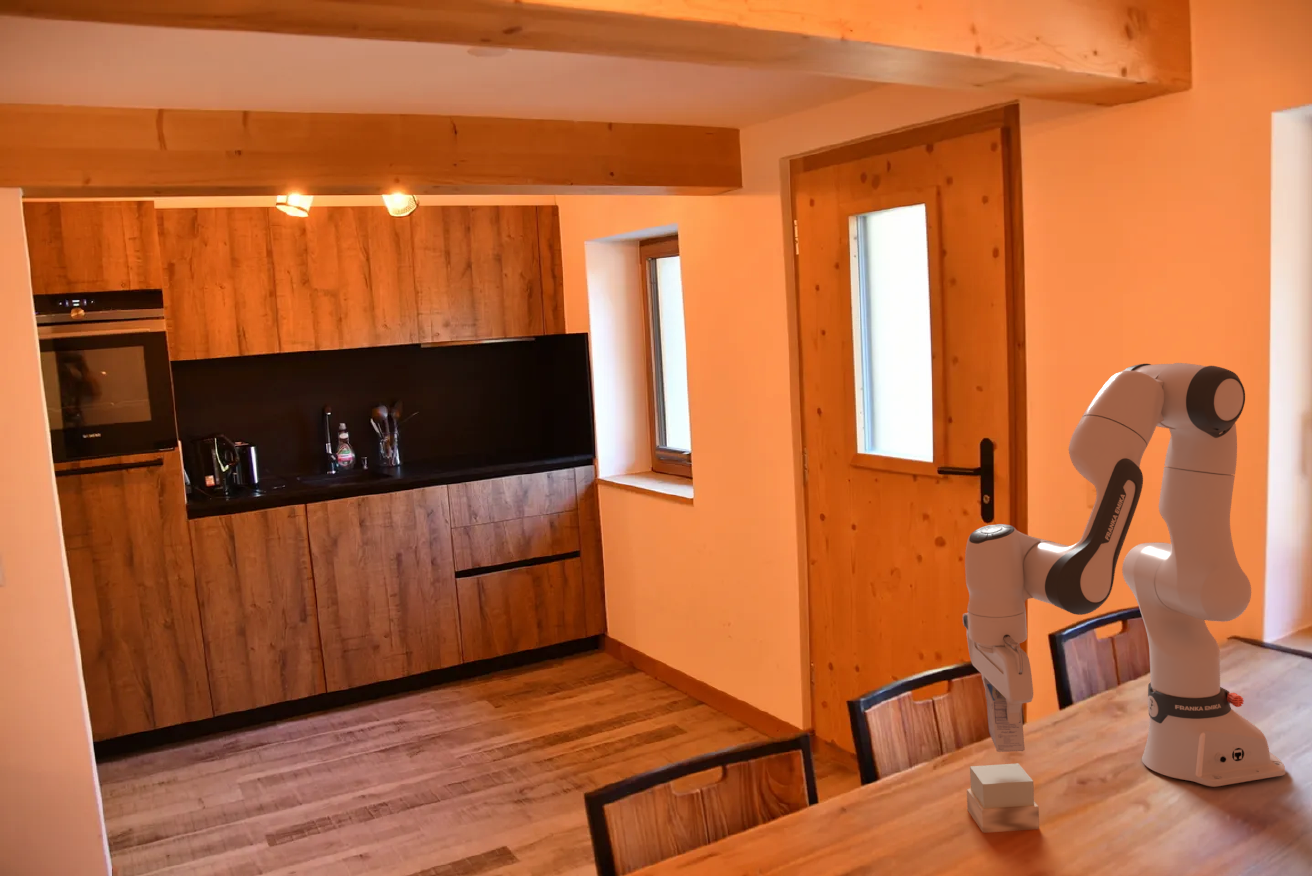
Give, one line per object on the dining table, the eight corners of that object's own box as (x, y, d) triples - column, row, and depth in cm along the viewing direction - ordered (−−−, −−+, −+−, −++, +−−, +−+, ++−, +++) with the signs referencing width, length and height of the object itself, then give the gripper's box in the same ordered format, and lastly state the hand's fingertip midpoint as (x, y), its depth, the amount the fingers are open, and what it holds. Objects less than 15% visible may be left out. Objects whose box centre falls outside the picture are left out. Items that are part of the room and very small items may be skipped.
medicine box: (1025, 752, 165) (1021, 699, 165) (995, 753, 166) (992, 700, 165) (1016, 732, 173) (1013, 681, 172) (988, 733, 174) (984, 682, 173)
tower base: (1021, 808, 175) (1020, 785, 175) (1039, 830, 167) (1038, 806, 167) (967, 812, 175) (966, 788, 175) (982, 834, 167) (982, 810, 167)
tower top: (1019, 786, 174) (1018, 763, 174) (1034, 805, 167) (1033, 781, 167) (970, 789, 174) (969, 766, 174) (983, 808, 167) (982, 784, 167)
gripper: (1041, 644, 157) (1046, 733, 159) (996, 609, 178) (1000, 688, 179) (999, 648, 157) (1004, 737, 159) (959, 612, 178) (964, 691, 179)
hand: (1002, 711), depth 169 cm, fingers closed on medicine box, 8 cm apart
